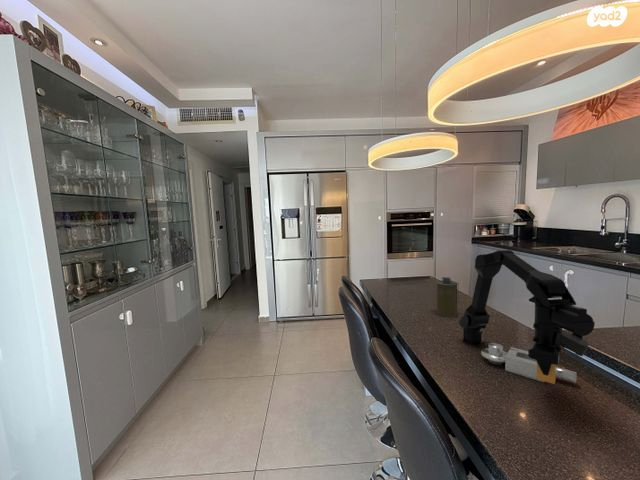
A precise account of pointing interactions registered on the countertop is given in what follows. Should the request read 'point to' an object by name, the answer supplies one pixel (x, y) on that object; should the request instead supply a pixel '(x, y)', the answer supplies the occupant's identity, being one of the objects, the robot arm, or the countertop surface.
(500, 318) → the countertop surface
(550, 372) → the wedge
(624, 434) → the countertop surface
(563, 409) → the countertop surface
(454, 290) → the canister
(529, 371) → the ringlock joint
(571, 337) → the robot arm
